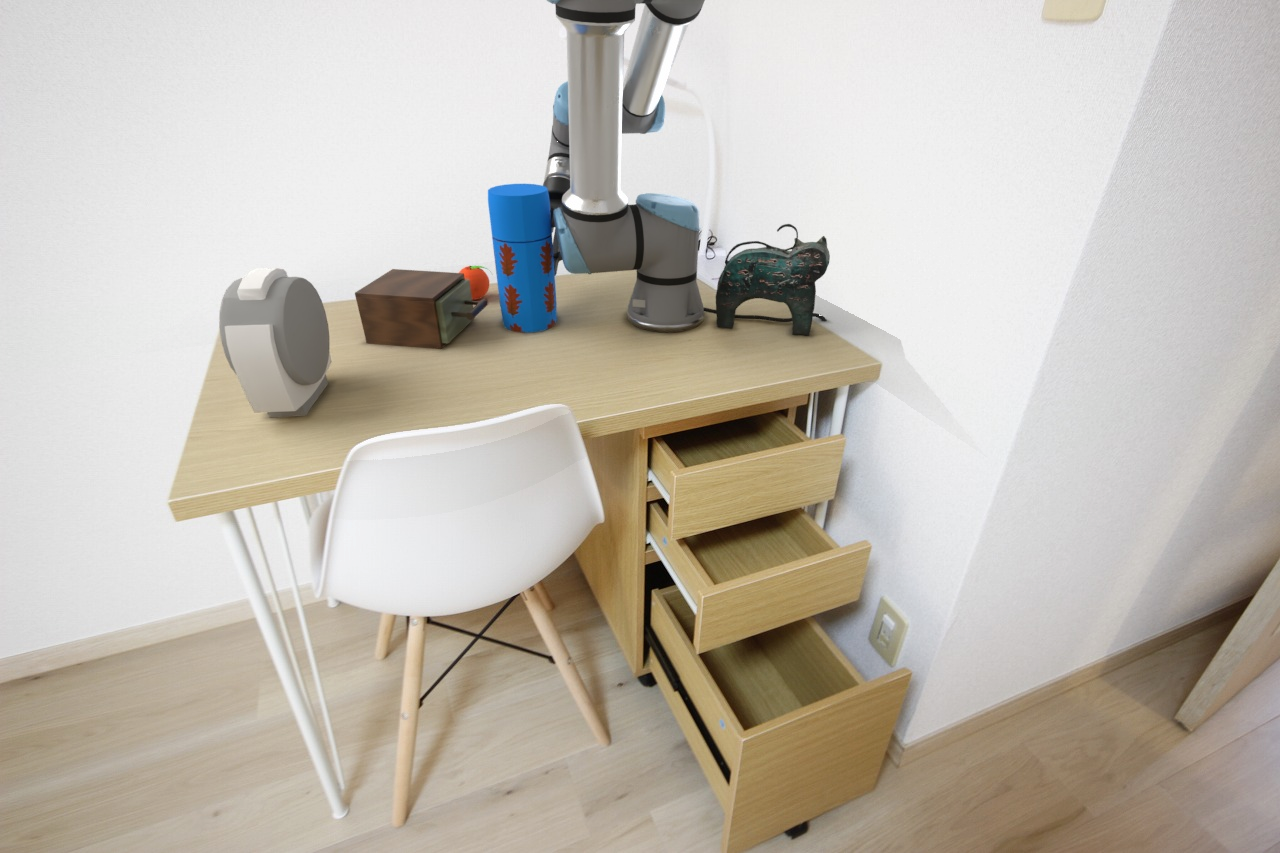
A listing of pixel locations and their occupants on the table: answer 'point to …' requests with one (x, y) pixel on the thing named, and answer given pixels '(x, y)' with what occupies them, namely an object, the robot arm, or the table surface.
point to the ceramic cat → (773, 280)
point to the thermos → (523, 256)
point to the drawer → (457, 310)
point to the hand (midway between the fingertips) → (543, 289)
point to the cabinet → (404, 307)
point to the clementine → (476, 280)
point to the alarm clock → (276, 341)
